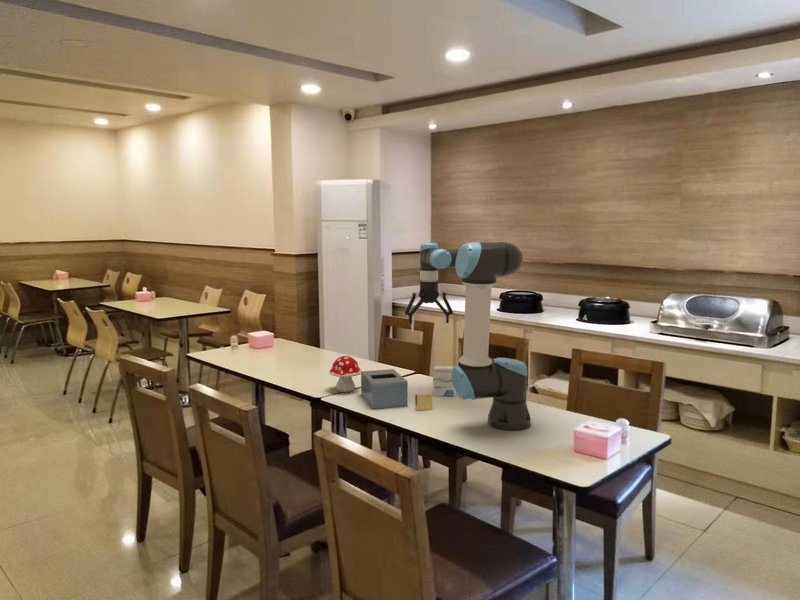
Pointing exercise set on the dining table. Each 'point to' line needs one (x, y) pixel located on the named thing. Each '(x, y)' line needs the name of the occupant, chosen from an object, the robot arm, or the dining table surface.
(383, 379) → the coin box
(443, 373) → the ink box
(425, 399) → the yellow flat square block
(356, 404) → the dining table surface
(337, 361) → the decorative mushroom
